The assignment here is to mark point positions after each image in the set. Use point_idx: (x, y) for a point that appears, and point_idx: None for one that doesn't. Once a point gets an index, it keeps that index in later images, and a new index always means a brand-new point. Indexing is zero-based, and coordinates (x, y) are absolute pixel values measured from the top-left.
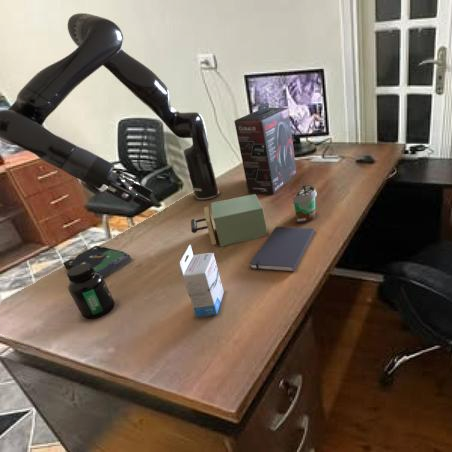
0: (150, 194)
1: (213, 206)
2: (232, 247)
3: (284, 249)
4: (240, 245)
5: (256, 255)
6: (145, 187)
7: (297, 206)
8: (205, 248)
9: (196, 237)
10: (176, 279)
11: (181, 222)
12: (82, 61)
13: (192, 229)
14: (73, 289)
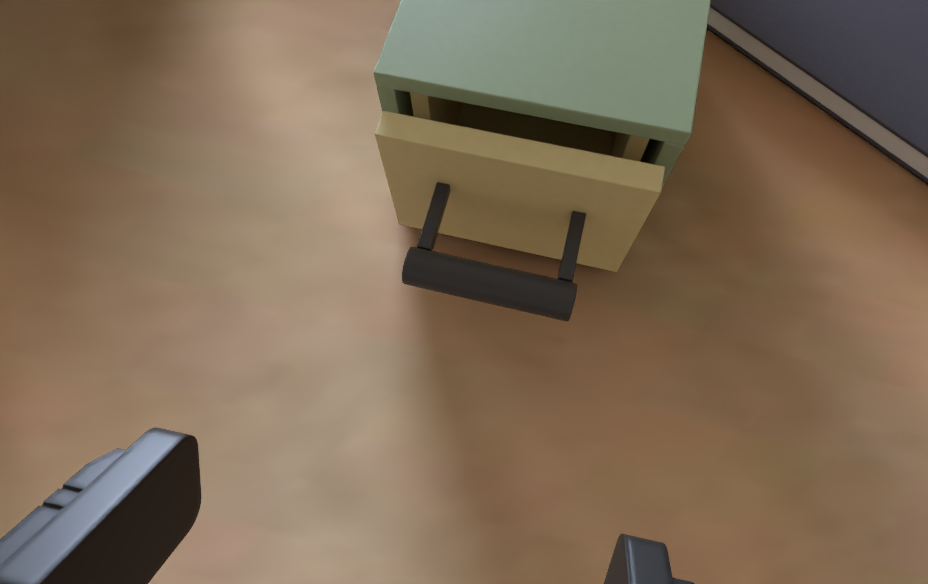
0: (198, 470)
1: (463, 75)
2: (683, 199)
3: (918, 21)
4: (687, 161)
5: (908, 132)
6: (95, 500)
7: None
8: (597, 317)
9: (418, 320)
10: (870, 560)
11: (120, 341)
12: None
13: (572, 307)
14: None
